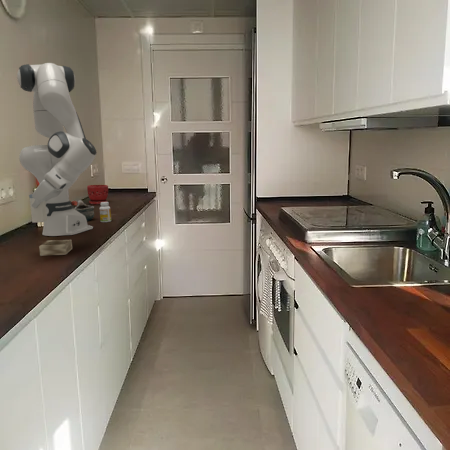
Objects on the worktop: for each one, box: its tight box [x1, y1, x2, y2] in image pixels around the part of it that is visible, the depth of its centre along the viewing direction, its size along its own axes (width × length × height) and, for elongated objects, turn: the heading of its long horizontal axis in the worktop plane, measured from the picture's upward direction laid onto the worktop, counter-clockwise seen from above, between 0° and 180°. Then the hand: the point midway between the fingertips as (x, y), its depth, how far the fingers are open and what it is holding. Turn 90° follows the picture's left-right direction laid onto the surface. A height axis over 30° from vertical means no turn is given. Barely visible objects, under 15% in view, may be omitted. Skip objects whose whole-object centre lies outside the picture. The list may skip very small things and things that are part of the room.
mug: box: [73, 199, 95, 222], centre depth 233 cm, size 10×12×10 cm
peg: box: [28, 193, 47, 223], centre depth 163 cm, size 4×4×10 cm
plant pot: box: [86, 184, 109, 205], centre depth 293 cm, size 13×13×12 cm
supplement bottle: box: [98, 201, 112, 223], centre depth 227 cm, size 5×5×10 cm
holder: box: [38, 239, 73, 257], centre depth 167 cm, size 9×9×4 cm
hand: (36, 205), depth 163 cm, fingers closed on peg, 4 cm apart
